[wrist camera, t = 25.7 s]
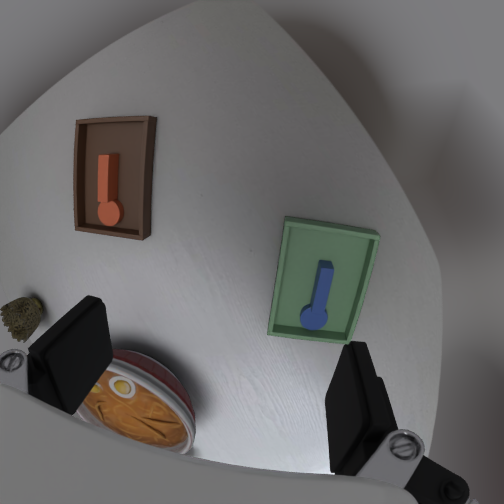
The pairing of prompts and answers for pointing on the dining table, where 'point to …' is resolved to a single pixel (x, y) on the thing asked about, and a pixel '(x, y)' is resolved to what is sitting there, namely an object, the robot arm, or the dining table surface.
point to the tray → (129, 173)
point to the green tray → (304, 272)
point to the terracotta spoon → (109, 190)
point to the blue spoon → (318, 298)
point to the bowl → (141, 403)
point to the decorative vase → (22, 317)
